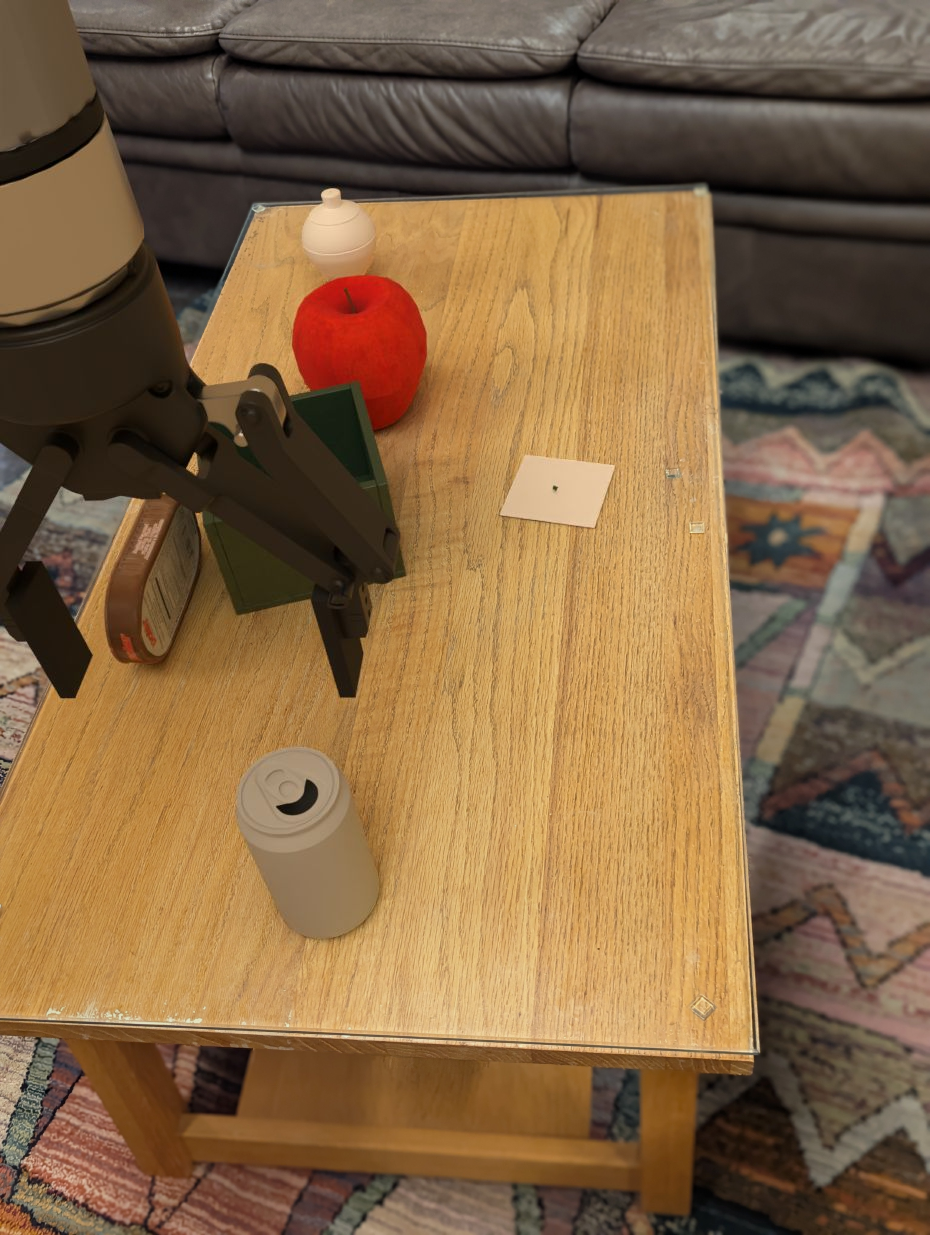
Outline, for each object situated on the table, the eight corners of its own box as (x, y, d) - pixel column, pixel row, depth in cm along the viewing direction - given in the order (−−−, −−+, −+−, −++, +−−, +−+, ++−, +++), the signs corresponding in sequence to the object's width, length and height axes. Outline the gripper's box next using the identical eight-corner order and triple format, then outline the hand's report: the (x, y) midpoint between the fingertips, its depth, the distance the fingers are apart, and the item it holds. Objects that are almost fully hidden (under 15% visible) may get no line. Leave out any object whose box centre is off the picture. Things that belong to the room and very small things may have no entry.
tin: (180, 547, 90) (149, 469, 84) (216, 547, 90) (188, 469, 84) (125, 687, 80) (84, 610, 74) (165, 688, 80) (128, 610, 74)
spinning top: (397, 306, 113) (379, 196, 104) (328, 328, 111) (304, 218, 103) (373, 274, 118) (354, 166, 109) (307, 294, 116) (282, 187, 108)
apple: (393, 363, 106) (370, 236, 96) (463, 416, 99) (447, 284, 89) (289, 414, 102) (255, 287, 92) (355, 473, 95) (326, 342, 85)
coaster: (615, 465, 92) (615, 458, 91) (594, 528, 87) (594, 520, 86) (524, 454, 94) (524, 447, 93) (499, 515, 89) (498, 507, 88)
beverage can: (327, 965, 64) (281, 861, 55) (258, 902, 67) (204, 795, 58) (402, 890, 67) (370, 779, 58) (333, 833, 70) (292, 720, 61)
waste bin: (236, 615, 84) (202, 524, 77) (224, 506, 94) (193, 416, 87) (406, 576, 85) (387, 482, 78) (377, 471, 95) (358, 380, 88)
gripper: (420, 192, 37) (477, 614, 52) (-244, 234, 40) (-5, 620, 55) (394, 312, 32) (466, 740, 47) (-364, 349, 35) (-64, 739, 50)
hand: (212, 676), depth 51 cm, fingers open, 13 cm apart
